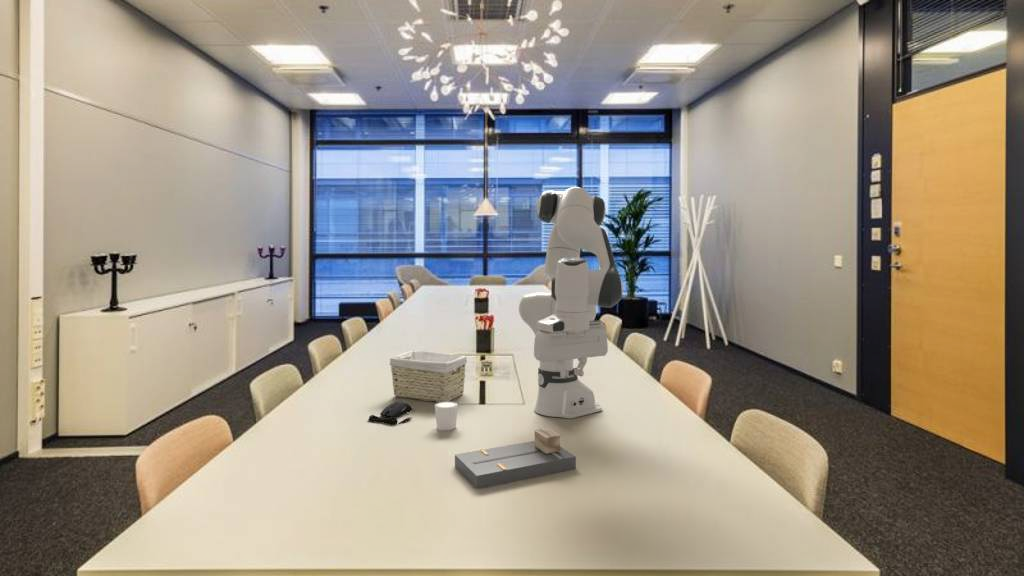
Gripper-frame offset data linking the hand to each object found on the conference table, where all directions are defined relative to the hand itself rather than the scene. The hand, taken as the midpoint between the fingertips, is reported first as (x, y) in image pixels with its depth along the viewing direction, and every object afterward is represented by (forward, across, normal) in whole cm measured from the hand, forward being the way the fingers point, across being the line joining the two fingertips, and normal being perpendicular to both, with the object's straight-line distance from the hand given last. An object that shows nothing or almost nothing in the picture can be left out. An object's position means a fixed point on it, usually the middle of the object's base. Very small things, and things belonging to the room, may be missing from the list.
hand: (571, 375), depth 140 cm
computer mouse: (+22, +31, -53) cm, 65 cm away
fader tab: (+18, +7, 0) cm, 19 cm away
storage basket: (+22, +15, -72) cm, 77 cm away
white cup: (+21, +21, -36) cm, 47 cm away
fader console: (+21, +16, 0) cm, 26 cm away
